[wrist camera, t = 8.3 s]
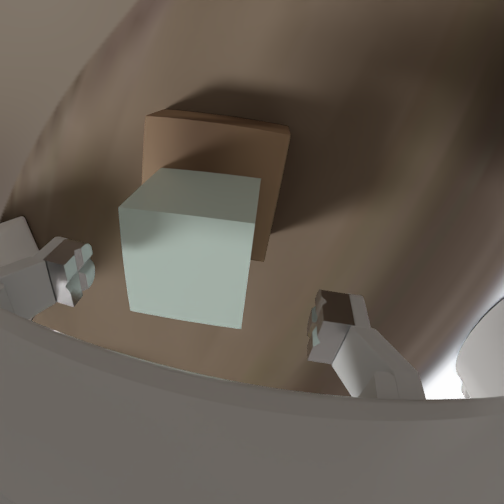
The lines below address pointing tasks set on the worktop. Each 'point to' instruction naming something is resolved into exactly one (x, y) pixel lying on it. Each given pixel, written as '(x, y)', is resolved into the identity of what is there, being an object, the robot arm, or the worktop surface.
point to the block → (221, 155)
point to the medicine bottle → (16, 242)
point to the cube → (189, 245)
